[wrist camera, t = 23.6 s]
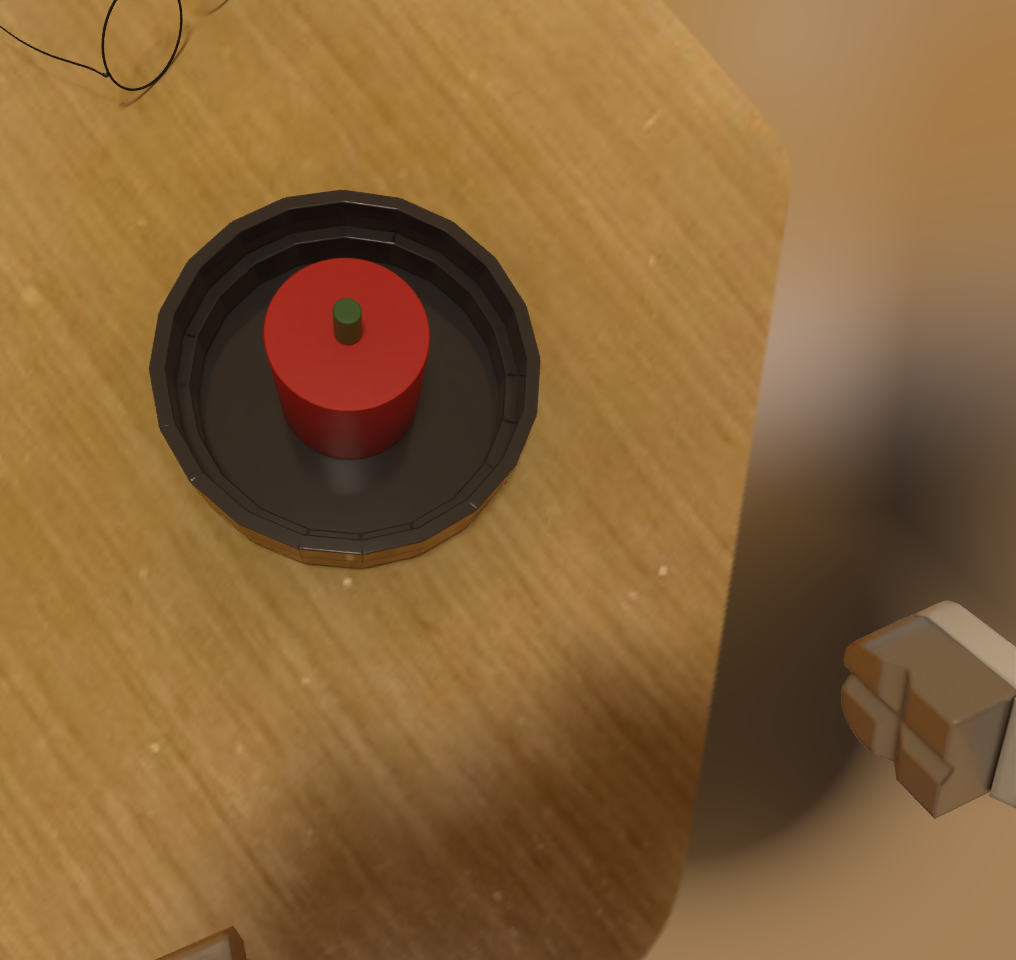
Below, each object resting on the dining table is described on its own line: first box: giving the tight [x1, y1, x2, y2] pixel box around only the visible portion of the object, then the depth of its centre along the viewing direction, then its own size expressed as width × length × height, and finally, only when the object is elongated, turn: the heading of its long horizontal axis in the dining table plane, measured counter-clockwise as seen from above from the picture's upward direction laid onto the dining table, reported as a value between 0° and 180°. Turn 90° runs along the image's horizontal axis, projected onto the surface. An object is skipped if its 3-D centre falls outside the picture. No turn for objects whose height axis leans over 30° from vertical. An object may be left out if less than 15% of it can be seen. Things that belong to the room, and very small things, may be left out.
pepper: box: [263, 258, 430, 459], centre depth 35 cm, size 6×6×9 cm
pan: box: [149, 190, 540, 568], centre depth 38 cm, size 15×15×4 cm
